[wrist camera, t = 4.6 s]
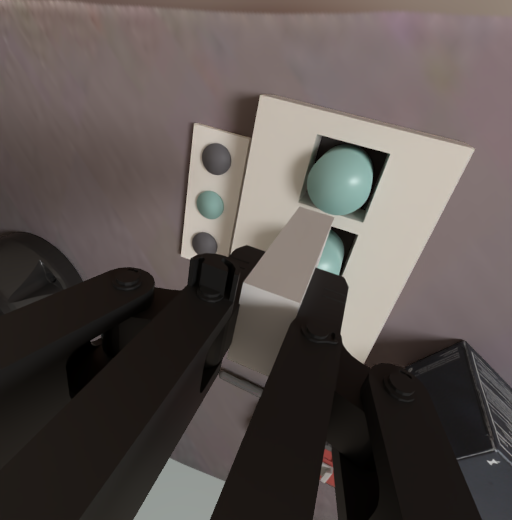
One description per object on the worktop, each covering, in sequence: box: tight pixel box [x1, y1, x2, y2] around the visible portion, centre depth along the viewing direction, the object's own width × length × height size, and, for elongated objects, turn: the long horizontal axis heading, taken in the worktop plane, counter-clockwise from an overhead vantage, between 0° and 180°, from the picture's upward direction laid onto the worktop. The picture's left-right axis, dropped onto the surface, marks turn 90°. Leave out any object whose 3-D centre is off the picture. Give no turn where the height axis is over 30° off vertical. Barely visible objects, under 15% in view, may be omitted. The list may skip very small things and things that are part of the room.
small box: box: [405, 341, 512, 520], centre depth 27 cm, size 11×6×10 cm, turn 49°
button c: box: [307, 144, 374, 215], centre depth 24 cm, size 4×4×4 cm
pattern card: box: [181, 123, 252, 259], centre depth 31 cm, size 5×13×1 cm, turn 168°
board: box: [231, 94, 475, 364], centre depth 28 cm, size 14×20×3 cm
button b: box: [317, 229, 344, 275], centre depth 25 cm, size 4×4×4 cm
